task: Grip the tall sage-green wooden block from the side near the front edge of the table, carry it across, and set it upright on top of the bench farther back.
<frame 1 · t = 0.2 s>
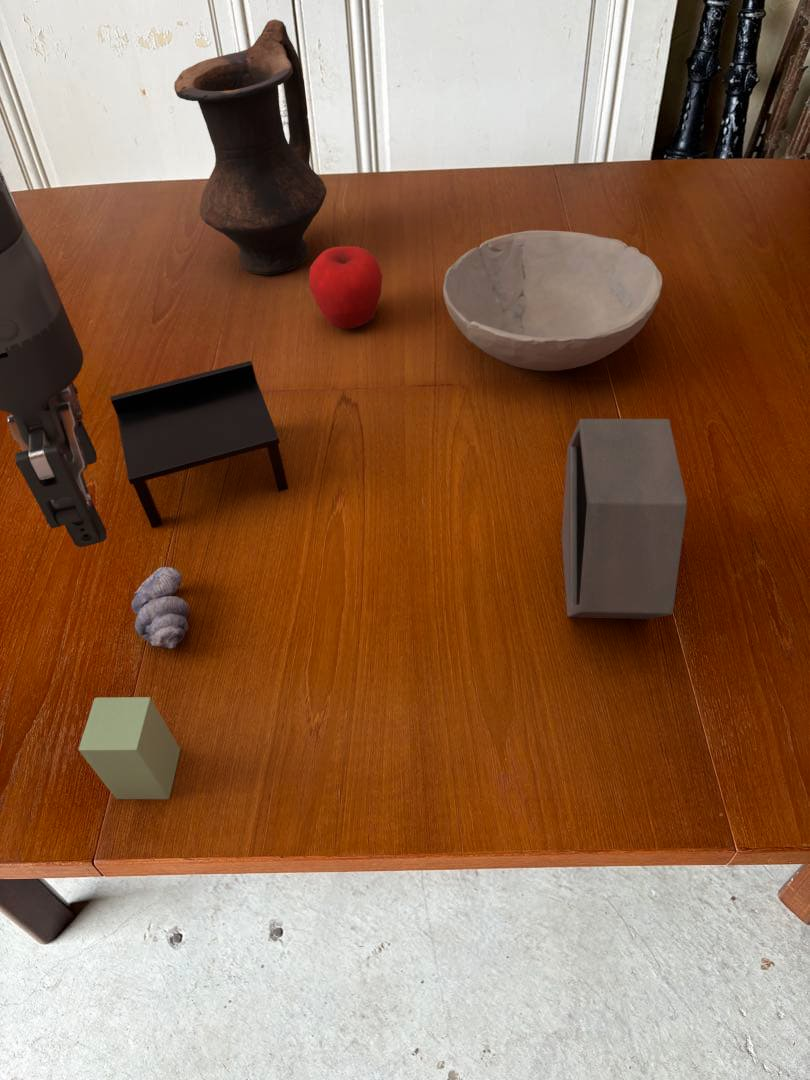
hand: (88, 500, 60), 23 cm above the table, tool pointing down, fingers open, 8 cm apart
seashell: (169, 623, 81), on the table
bowl: (544, 346, 107), on the table
apple: (351, 323, 114), on the table
grey open box: (603, 583, 81), on the table
bench: (212, 475, 95), on the table
jug: (279, 256, 127), on the table
block: (149, 773, 70), on the table
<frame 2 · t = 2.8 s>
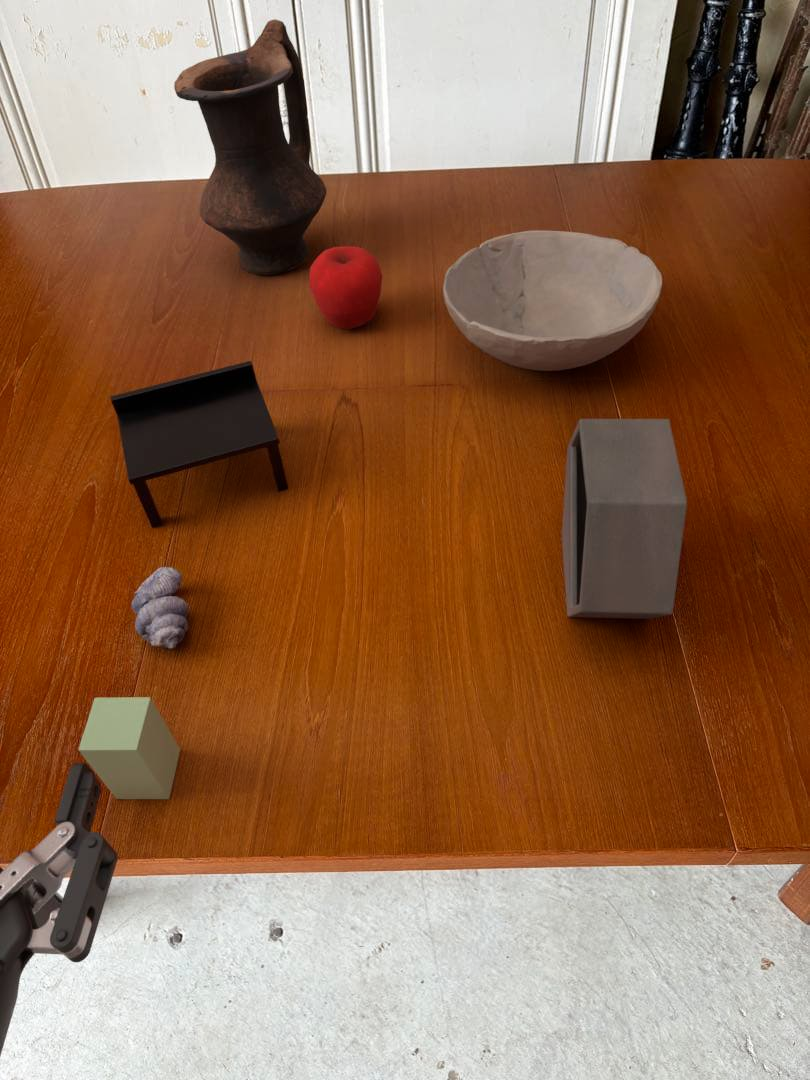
hand: (15, 770, 49), 20 cm above the table, tool horizontal, fingers open, 8 cm apart
nothing on the table moved.
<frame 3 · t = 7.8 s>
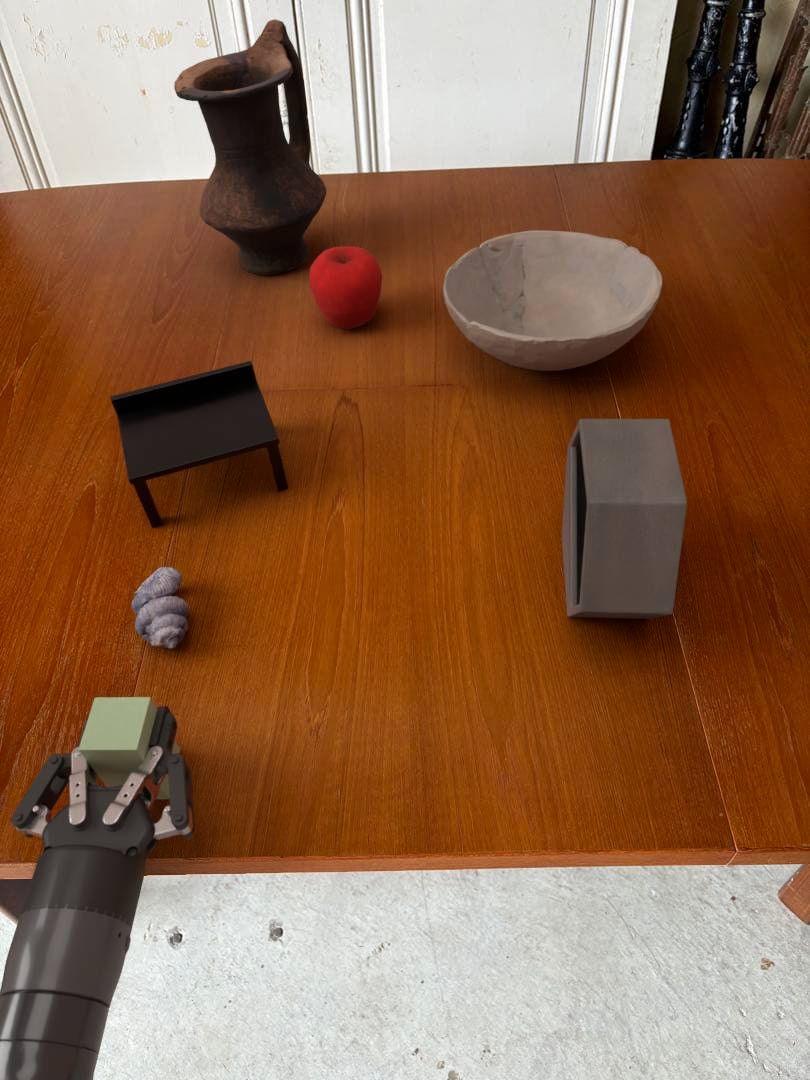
hand: (134, 711, 68), 6 cm above the table, tool horizontal, fingers closed on block, 4 cm apart
block: (148, 773, 70), on the table, touching gripper
everything else where it was.
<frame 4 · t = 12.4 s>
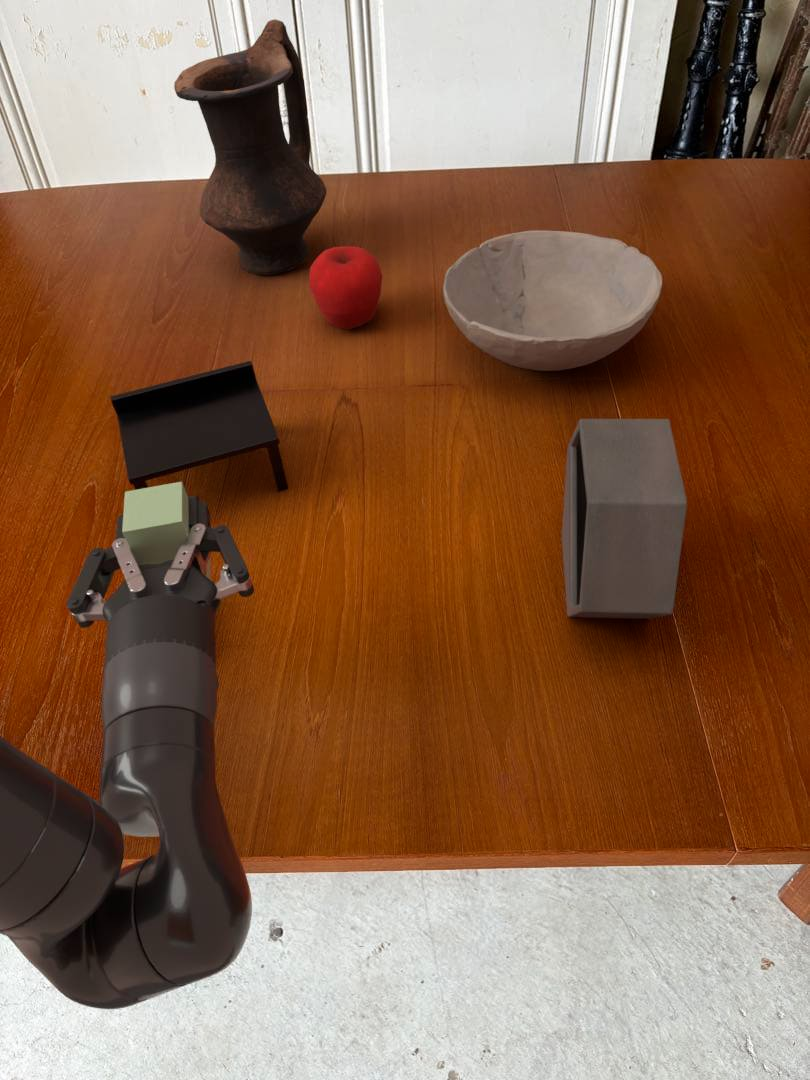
hand: (164, 509, 68), 17 cm above the table, tool horizontal, fingers closed on block, 4 cm apart
block: (184, 579, 70), point 11 cm above the table, touching gripper
everything else where it was.
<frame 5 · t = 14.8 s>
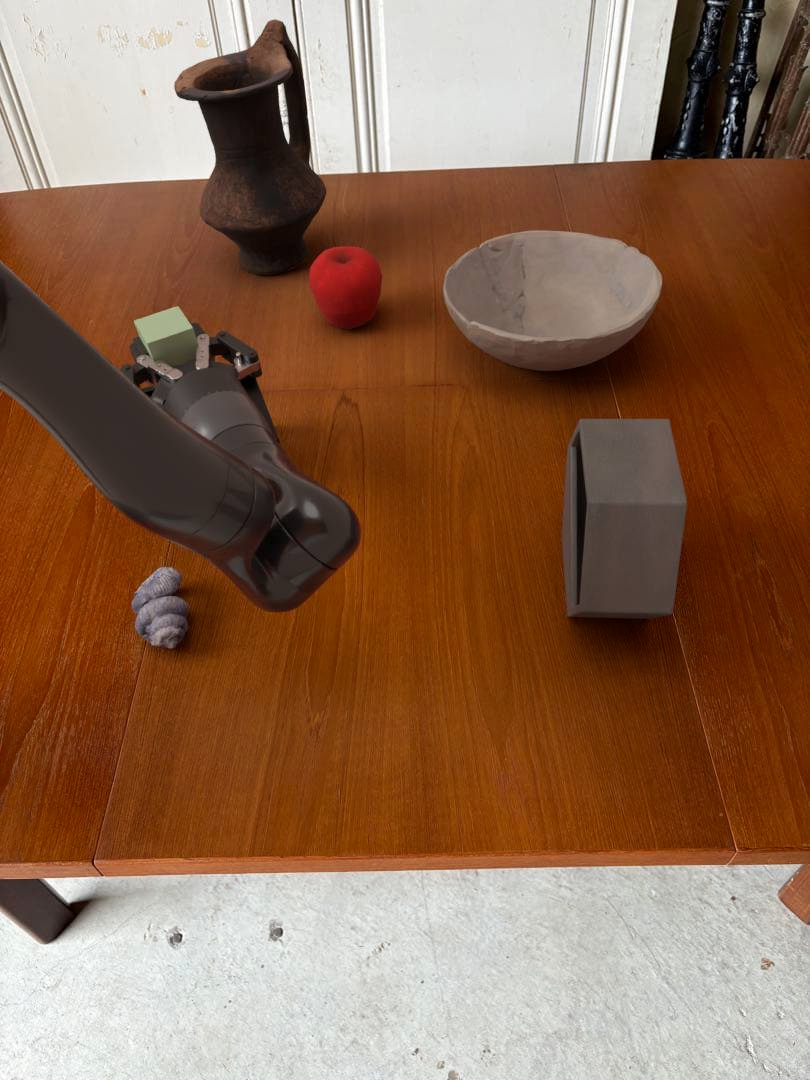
hand: (163, 336, 83), 18 cm above the table, tool horizontal, fingers closed on block, 4 cm apart
block: (187, 397, 85), point 12 cm above the table, touching gripper
everything else where it was.
when the fingers open (14 cm above the table, at t = 16.8 s): block stays where it is, resting on bench.
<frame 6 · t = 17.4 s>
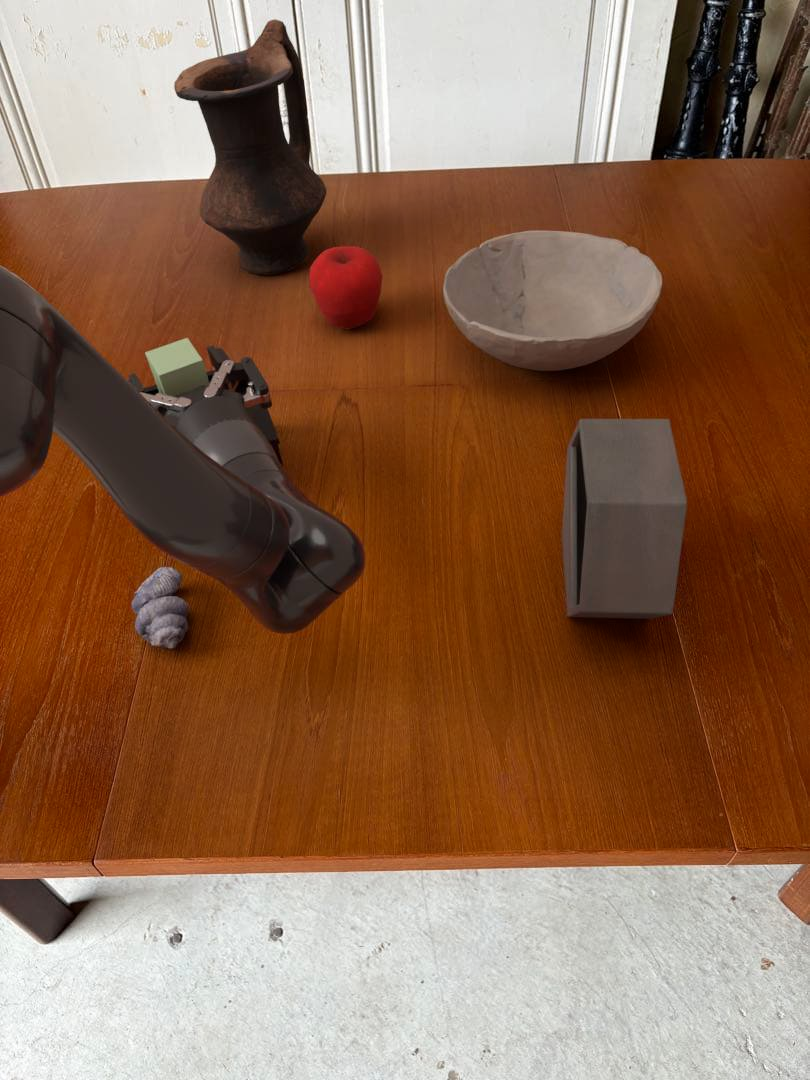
hand: (173, 366, 85), 14 cm above the table, tool horizontal, fingers open, 8 cm apart
block: (196, 424, 89), point 8 cm above the table, touching bench
everything else where it was.
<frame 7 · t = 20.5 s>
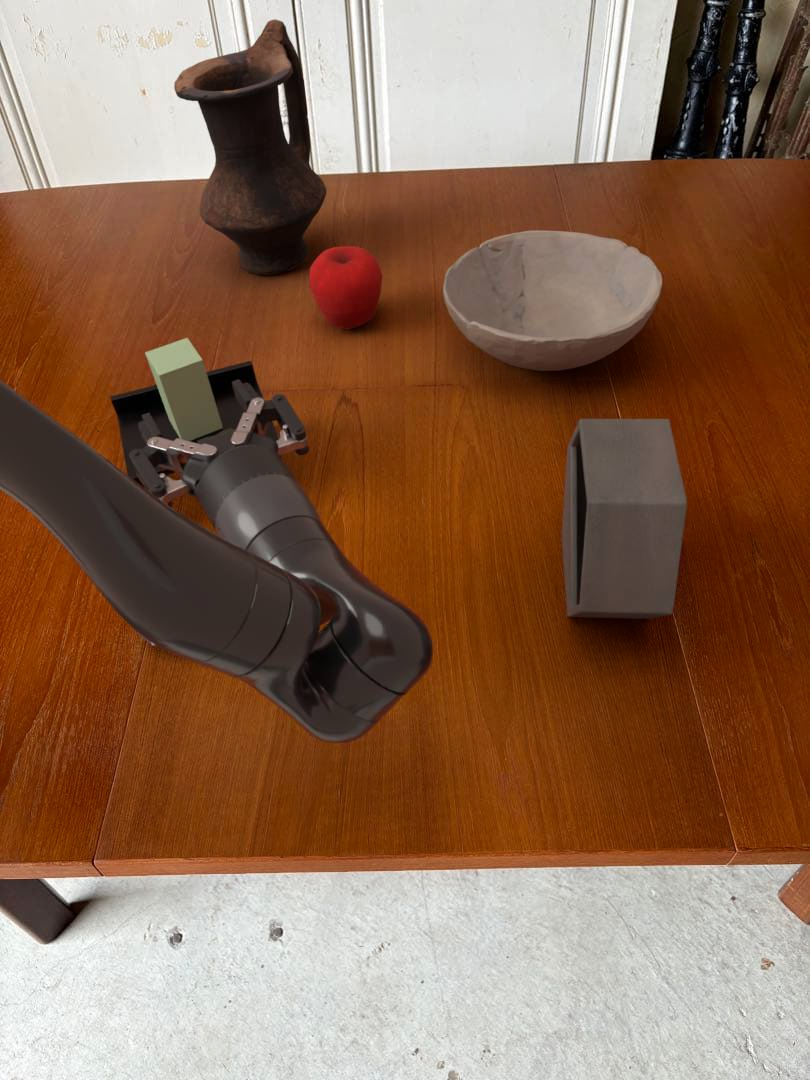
hand: (192, 404, 74), 19 cm above the table, tool horizontal, fingers open, 8 cm apart
nothing on the table moved.
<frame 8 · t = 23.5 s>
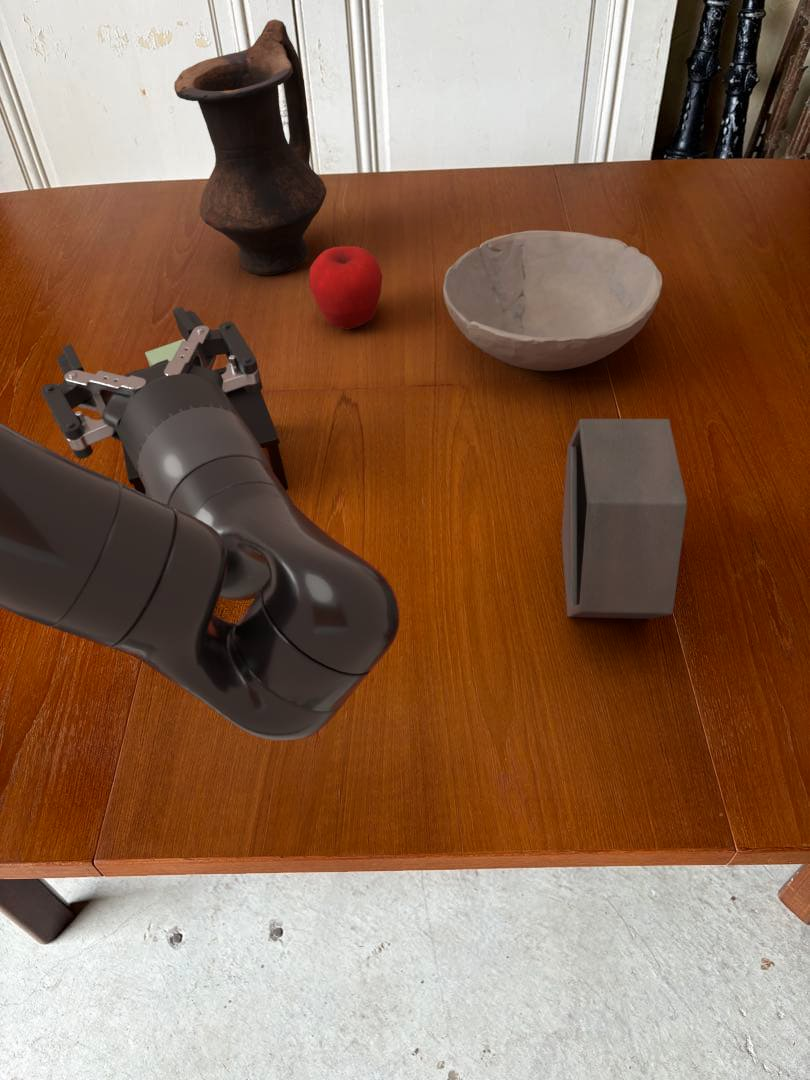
hand: (126, 336, 62), 30 cm above the table, tool horizontal, fingers open, 8 cm apart
nothing on the table moved.
at the end: block inside the target area on the bench (0.1 cm from its centre), point 7.8 cm above the bench's base; block tilted 0°; the gripper is holding nothing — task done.
